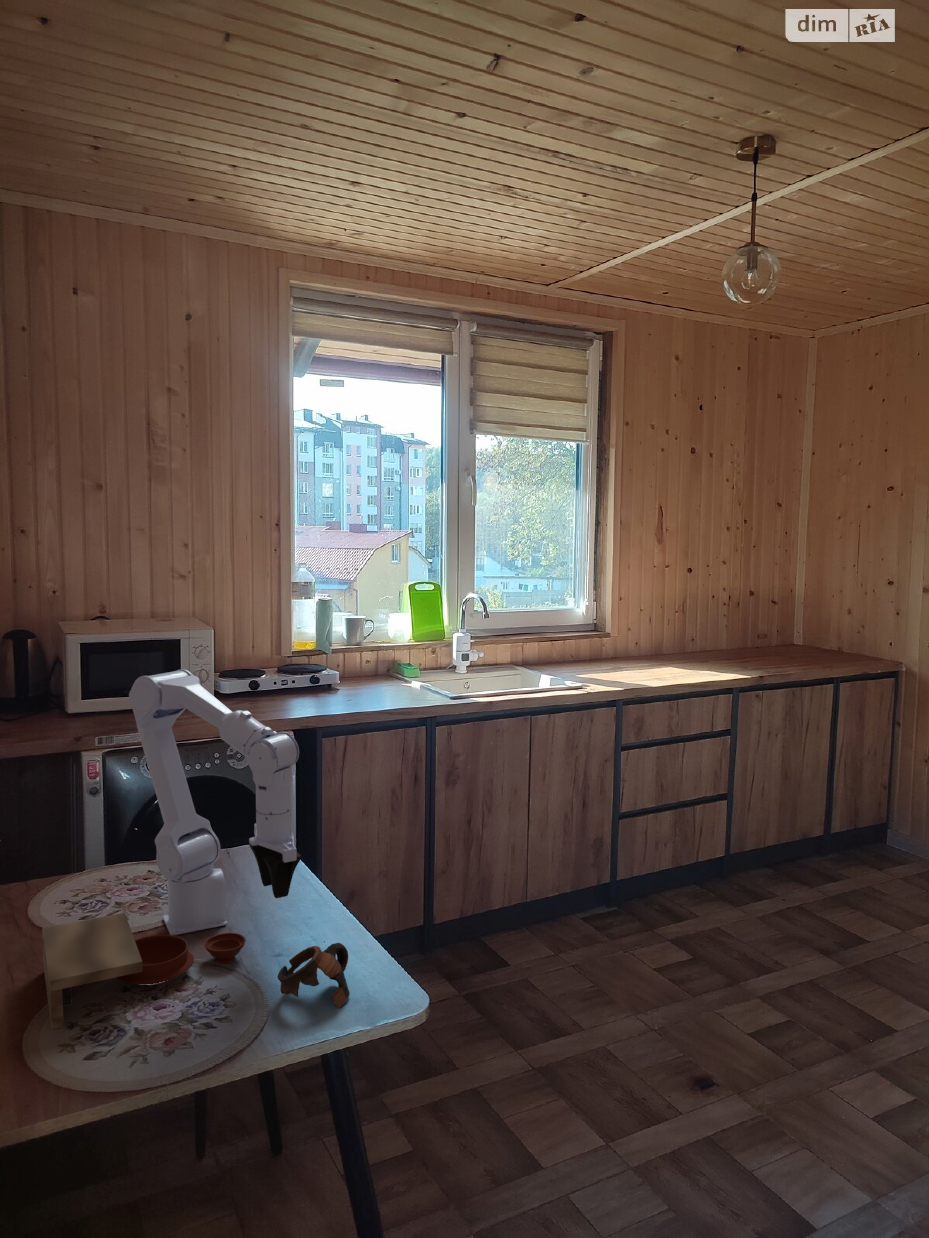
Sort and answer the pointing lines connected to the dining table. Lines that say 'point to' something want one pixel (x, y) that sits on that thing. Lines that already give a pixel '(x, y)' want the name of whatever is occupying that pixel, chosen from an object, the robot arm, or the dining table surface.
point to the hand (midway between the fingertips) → (275, 890)
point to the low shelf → (86, 957)
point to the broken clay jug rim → (309, 971)
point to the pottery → (178, 956)
